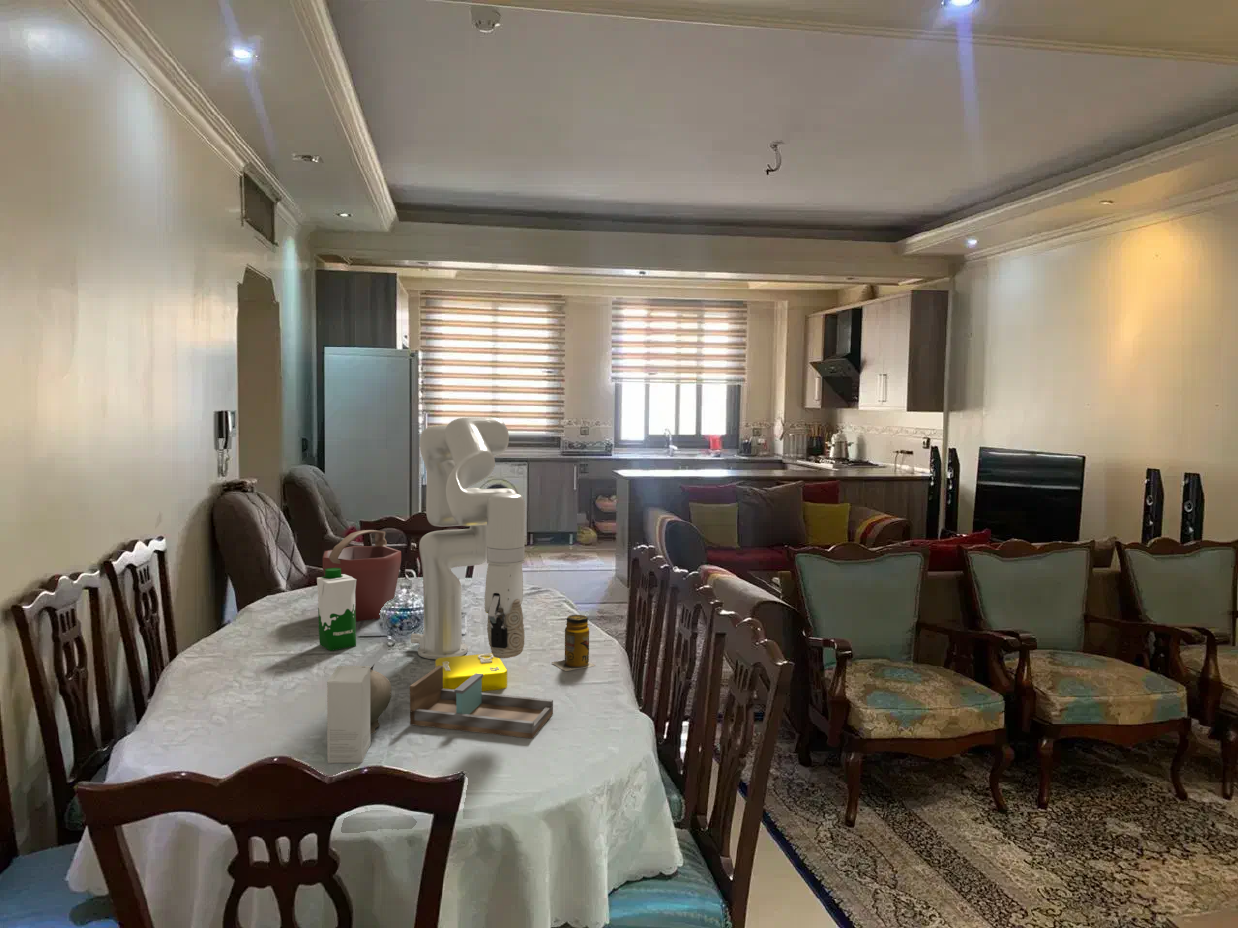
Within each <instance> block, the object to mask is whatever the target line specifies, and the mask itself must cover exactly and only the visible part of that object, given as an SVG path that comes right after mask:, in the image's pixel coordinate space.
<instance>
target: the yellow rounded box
mask: <svg viewBox="0 0 1238 928" xmlns="http://www.w3.org/2000/svg"><path fill="white" fill-rule="evenodd" d="M434 662H435V665H434V666H435V667H434V668H436V667H437V666H443V689H452V690H455V689H456V688H458V687H459V686H460V685H461V684H462V683H464V682H465V681H466V680H467V679H469V678H470V677H471V676H472V675H474V674H475V673H479V674H483V677H482V692H490V691H499V690H503V689H507V687H508V669H507V668H506V666H505V664H504V663H503V661H502V658H496V657H494V656H493V654H492V652H490V653H480V654H478V653H477V654H467V655H466V654H465V655H462V656H455V657H444V658H438V659H435V661H434Z"/></svg>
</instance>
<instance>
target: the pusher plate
mask: <svg viewBox="0 0 1238 928" xmlns="http://www.w3.org/2000/svg"><path fill="white" fill-rule="evenodd" d="M482 677H483V674H479V673H475V674H474V675H472V676H471V677H470V678H469V679H467V680H466V681H465V682H464V683H462V684H461V685H460V686H459V687H458V688H456V689H455V690H454V693H456V713H460V714H470V713H471V712H472V711H473V710H474V709H476V708H477V707H478V706H479V705H480V704H481V703H482V693H483V691H482Z"/></svg>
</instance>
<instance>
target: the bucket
mask: <svg viewBox="0 0 1238 928" xmlns="http://www.w3.org/2000/svg"><path fill="white" fill-rule="evenodd" d="M369 533H371V534H372V533H375V537H374V540H375V541H374V543H375V545H373V546H371V545H370V546H369V545H368V546H367V545H365V546H364V545H361V546H360V545H359V546H358V545H355V546H354V545H353V546H349V545H350V544H351V543H352V542H353V541H355V540H356V539H357V538H358V537H360V536H362V535H366V534H369ZM385 537H386V531H382V530H376V529H375V530H374V529H366V530H365V529H362V530H359V531H354V532H351V533H349V534H348V535H346V536H345V537H344V538H343V539H342V540H341V541H340V542H339V543H337V544H336V545H335V546H334V547H333V548H332V549H329V550H324V551H323V555H322V570H323V575H324V576H323V577H325V569H328V568H341V574H345V575H348V576H351V577H353V578H354V579H356V588H355V616H356V622H362V621H370V620H371V621H372V620H378V619H379V618H380V615H379V613H380V610H381V608H382V607H383V606H384V604H385V603H386V602H387V601H389V600H391V599H393V598H394V599H395V595H396V589H397V584H398V579H399V574H400V569H401V563H402V551H401V550H398V549H396V548H392V547H389V546H387V544H388V543H387V540H386V538H385ZM380 619H381V618H380ZM380 619H379V620H380Z"/></svg>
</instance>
